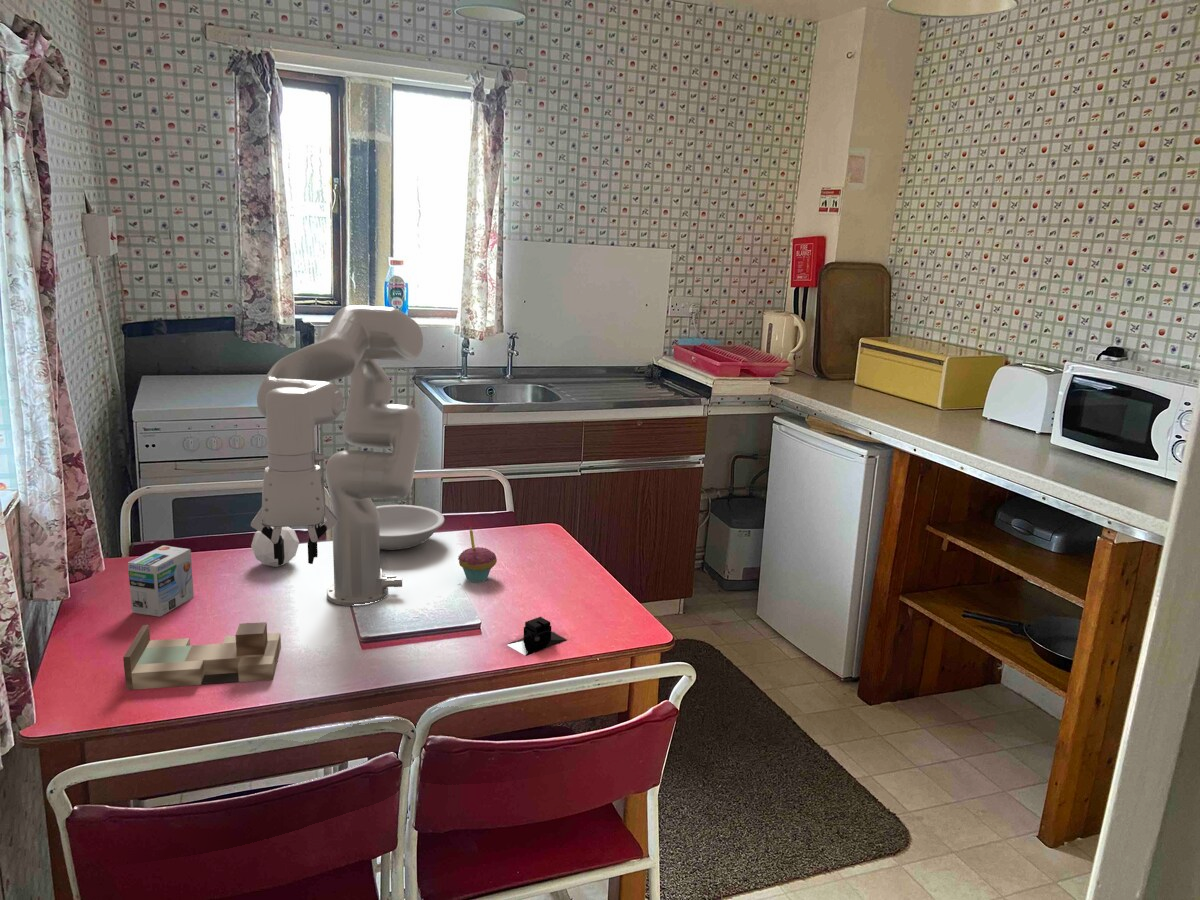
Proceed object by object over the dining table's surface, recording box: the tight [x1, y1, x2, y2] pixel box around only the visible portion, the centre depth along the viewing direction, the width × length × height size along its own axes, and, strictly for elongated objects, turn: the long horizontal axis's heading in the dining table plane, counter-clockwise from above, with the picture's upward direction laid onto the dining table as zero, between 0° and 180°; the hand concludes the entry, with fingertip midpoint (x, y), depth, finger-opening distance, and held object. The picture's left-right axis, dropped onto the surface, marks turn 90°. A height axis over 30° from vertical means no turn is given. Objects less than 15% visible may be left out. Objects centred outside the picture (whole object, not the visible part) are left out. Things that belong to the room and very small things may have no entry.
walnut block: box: [235, 621, 268, 656], centre depth 153 cm, size 4×4×4 cm
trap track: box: [122, 624, 282, 691], centre depth 152 cm, size 23×12×6 cm, turn 103°
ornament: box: [250, 527, 300, 568], centre depth 200 cm, size 10×10×15 cm
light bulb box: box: [127, 545, 195, 618], centre depth 175 cm, size 11×7×11 cm, turn 168°
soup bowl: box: [375, 504, 445, 551], centre depth 215 cm, size 24×24×7 cm
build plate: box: [506, 616, 568, 657], centre depth 167 cm, size 13×8×5 cm, turn 134°
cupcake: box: [457, 526, 498, 583], centre depth 196 cm, size 9×8×12 cm
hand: (296, 560), depth 152 cm, fingers open, 4 cm apart
